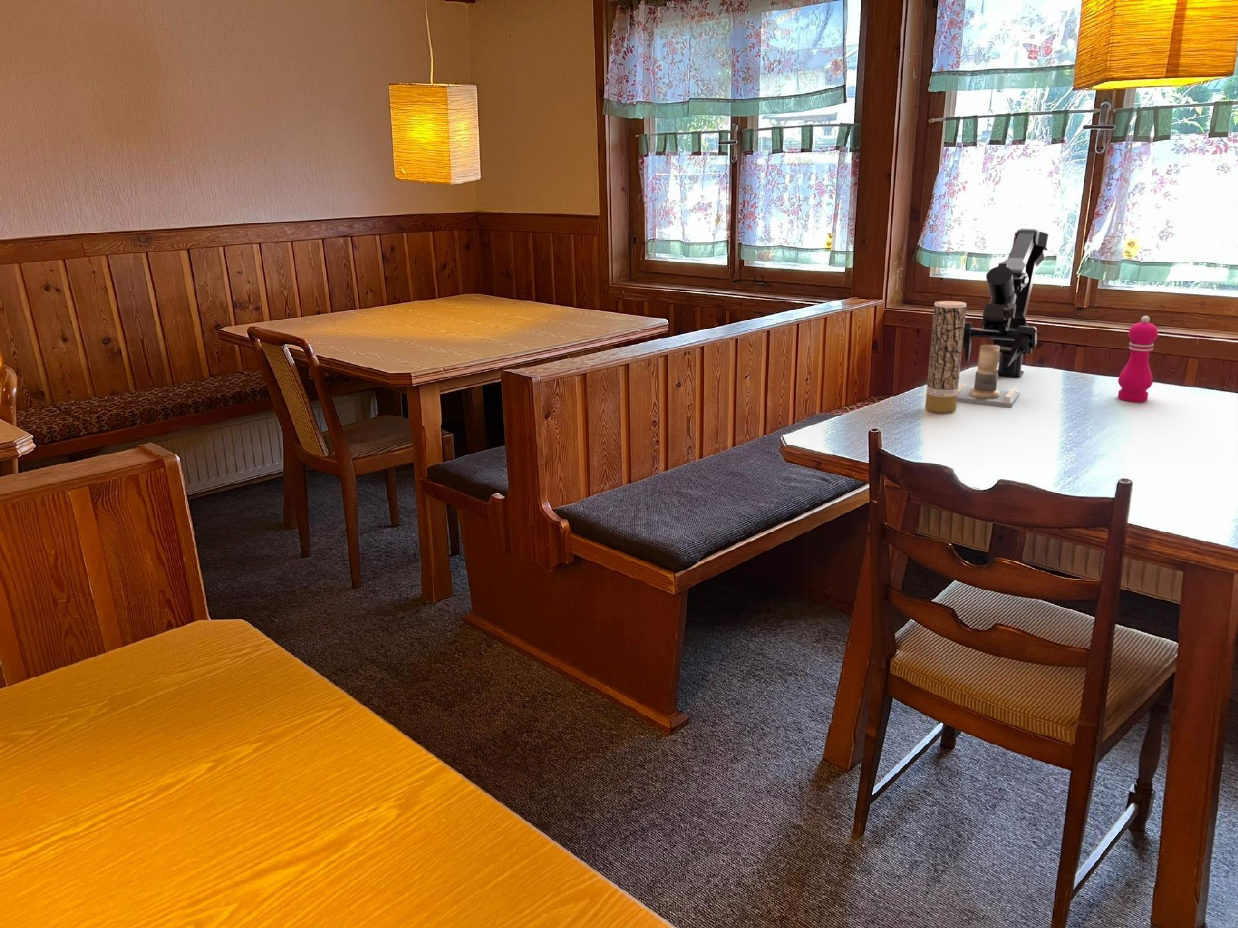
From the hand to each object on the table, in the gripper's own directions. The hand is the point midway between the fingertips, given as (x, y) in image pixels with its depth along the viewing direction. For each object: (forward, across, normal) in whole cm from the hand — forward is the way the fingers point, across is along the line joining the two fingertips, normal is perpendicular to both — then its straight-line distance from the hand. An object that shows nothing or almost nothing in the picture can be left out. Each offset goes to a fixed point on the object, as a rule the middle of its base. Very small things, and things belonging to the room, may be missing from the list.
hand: (986, 363), depth 217 cm
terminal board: (+5, 0, +8) cm, 9 cm away
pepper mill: (-6, +31, +19) cm, 37 cm away
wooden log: (+16, -7, -3) cm, 18 cm away
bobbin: (+5, 0, +7) cm, 8 cm away
